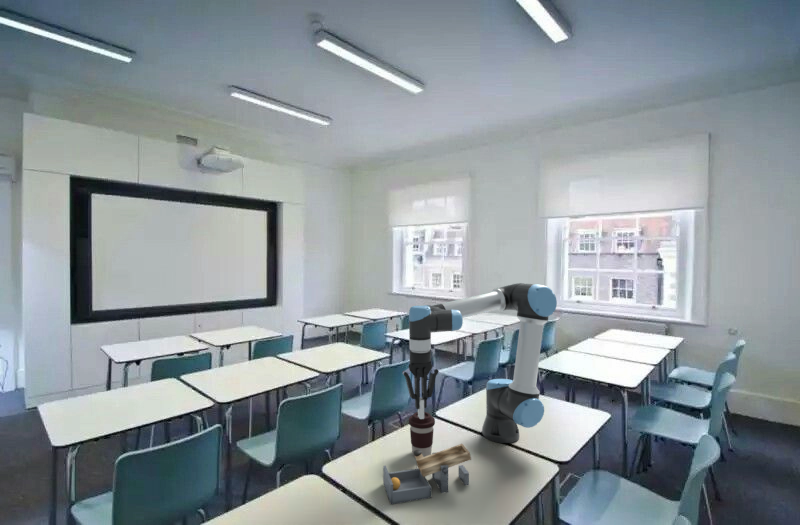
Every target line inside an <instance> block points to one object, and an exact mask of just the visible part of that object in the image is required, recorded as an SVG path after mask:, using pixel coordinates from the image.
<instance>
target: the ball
mask: <svg viewBox="0 0 800 525" xmlns="http://www.w3.org/2000/svg"><path fill="white" fill-rule="evenodd" d="M391 480H392V483H393V490H397V489H398V488H399V487H400V480H399V479H398V478H396V477H393V478H392V479H391Z"/></svg>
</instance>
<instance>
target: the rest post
mask: <svg viewBox="0 0 800 525" xmlns="http://www.w3.org/2000/svg"><path fill="white" fill-rule="evenodd" d="M457 468H458V479H459V480H460V481H461V483H462V484H463V486H469V485H470V472H469V471H468V470H467V468H466V467H465V466H464V465H463V464H461V465H460V464H459V465H458V467H457Z"/></svg>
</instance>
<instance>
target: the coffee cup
mask: <svg viewBox="0 0 800 525" xmlns="http://www.w3.org/2000/svg"><path fill="white" fill-rule="evenodd" d="M408 424H409V427H410V428H409V431H410V444H411V454H412V456H413V457H415V456H414V454H413V452H414V451H415V450H421V454H422V455H423V457H425V456H428V455H431V454H432V450H433V449H432V447H433V443H434V426H435V424H436V419H435V417H433V415H432V414H430V413H429V412H426V411H424V419H420V418H419V417H418V411H416V412H414V413H413V414H412V415H411V416H410V417H409V418H408Z"/></svg>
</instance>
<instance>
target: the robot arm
mask: <svg viewBox="0 0 800 525" xmlns="http://www.w3.org/2000/svg"><path fill="white" fill-rule="evenodd" d="M557 301H558V300H557V297H556V295H555V292H553V290H552V289H551V288H550V287H548V286H546V285H543V284H539V283H537V284H535V283H522V282H519V283H512V284H508V285H504V286H501V287H497V288H494V289H493V290H492V291H491V292H486V293H482V294H477V295H472V296H468V297H464V298H460V299H456V300H451V301H448V302H442V303H439V304H434V305H431V304H425V305H414V306H413V305H412V306H411V307H410V308H409V312H408V327H409V328H408V329H409V331H408V332H409V339H408V340H409V341H408V342H409V350H410V351H409V363H408V364H409V365H408V367H407V369H405V370H402V372H401V373H402V375H403V376H404V378H405V382H406V386H407V389H408V394H409V396H410V398H411V399H412V400H414V407H415V409H417V412H418V417H419V418H420V419H424V412H425V409H427V401H428V398H432V397H433V393H434V388H435V383H436V378H437V376H438V374H439V369H438V368H436V367H434V366H433V364H432V352H431V349H432V339H431V338H432V336H431V335H432V333H441V332H454V331H458V330H459V331H460V330H461V329H462V327H463V324H464V322H463V321H464V320H463V319H465V318H468V317H473V316H476V315H480V314H485V313H488V312H489V313H490V312H493V311H498V312H502V311H503V312H504V311H516V312H517V313H516V317H517V319H518V320H519V330H518V338H517V346H516V352H515V353H516V354H515V363H514V371H513V379H509V378H508V379H507V378H494V379H489V380H488V381H487V382H486V389H485V391H486V399H485V402H486V405H485V406H486V408H485V409H486V411H485V412H486V416H485V418H484V421H483V423H482V428H481V433H482V436H483V437H484V438H485V439H487V440H489V441H491V442H494V443H499V444H511V443H515V442H517V441H518V440H519V439H520V430H519V427H518V426H521V427H523V428H525V429H526V428H527V429H529V428H533V427H535V426H537V425H538V424H539V423H540V422H541V421H542V420H543V417H544V415H545V406H544V404H543V401H541V400H540V390H539V389H538V387H537V380H538V374H539V373H538V372H539V364H540V356H541V349H542V348H541V347H542V338H543V337H542V336H543V330H544V325H545V324H546V323H547V322H549V317H550V316H551V315H553V314H554V312H555V311H556V308H557V304H558V302H557ZM411 375H413V379H414V388H413V384H412V380H411V377H410V376H411ZM428 375H429V380H428ZM420 387H421V388H420Z"/></svg>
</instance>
